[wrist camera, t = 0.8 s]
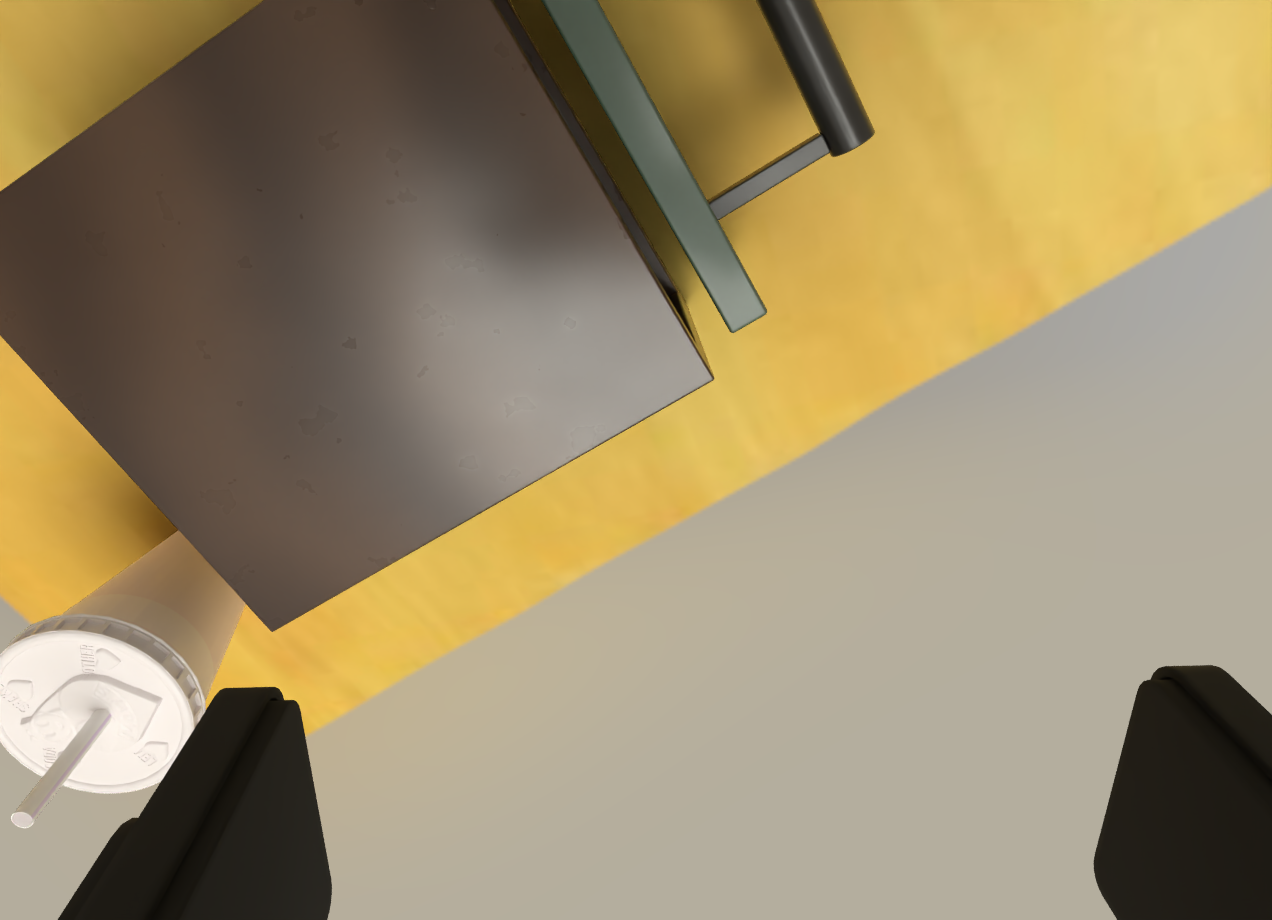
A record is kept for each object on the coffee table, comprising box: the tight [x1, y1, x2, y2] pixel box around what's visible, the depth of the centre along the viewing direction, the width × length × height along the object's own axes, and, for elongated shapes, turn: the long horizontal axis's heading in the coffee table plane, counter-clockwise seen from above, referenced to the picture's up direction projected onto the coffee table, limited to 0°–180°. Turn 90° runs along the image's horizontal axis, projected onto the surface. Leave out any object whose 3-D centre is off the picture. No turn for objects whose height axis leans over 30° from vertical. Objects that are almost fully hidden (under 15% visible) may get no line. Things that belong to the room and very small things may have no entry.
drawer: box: [541, 0, 875, 333], centre depth 27 cm, size 20×13×7 cm, turn 121°
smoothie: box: [0, 530, 246, 828], centre depth 30 cm, size 6×6×14 cm
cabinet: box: [0, 0, 714, 632], centre depth 28 cm, size 16×14×9 cm
